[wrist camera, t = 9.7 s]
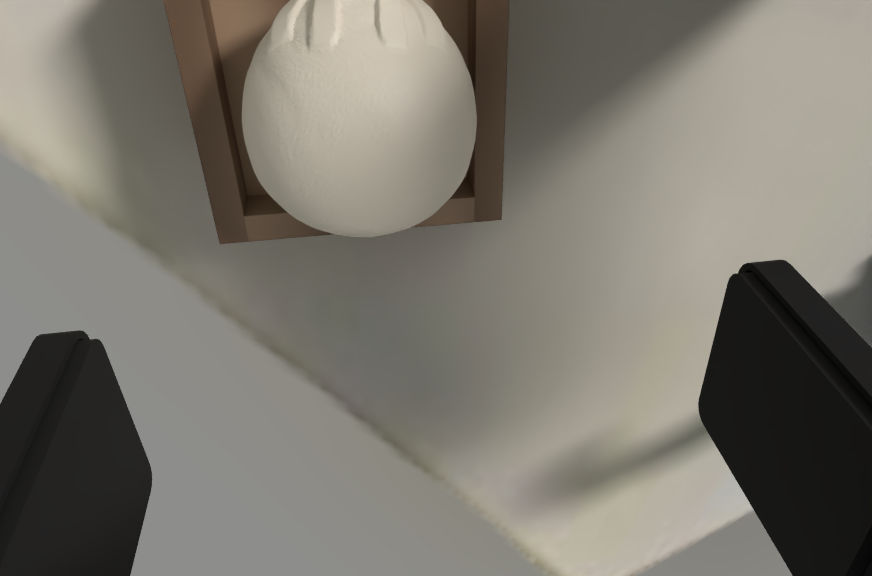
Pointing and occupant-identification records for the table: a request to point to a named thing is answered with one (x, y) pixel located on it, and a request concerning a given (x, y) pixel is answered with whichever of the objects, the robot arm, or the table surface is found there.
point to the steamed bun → (359, 114)
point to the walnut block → (223, 94)
